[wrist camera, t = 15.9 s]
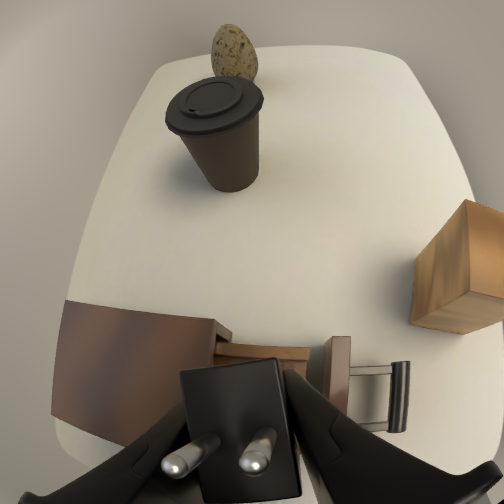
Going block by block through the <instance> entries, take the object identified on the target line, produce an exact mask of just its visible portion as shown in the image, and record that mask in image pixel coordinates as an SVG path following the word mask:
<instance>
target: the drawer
mask: <svg viewBox="0 0 504 504" xmlns="http://www.w3.org/2000/svg"><path fill="white" fill-rule="evenodd" d="M350 345H351V337H350V336H332V337H331V338H330V339H329V340H328V341H327V342H326V343H325V355H324V374H323V390H322V395H323V396H324V397H325V398H326V399H328V400H329V401H330V402H331V403H332V404H333V405H335V406H336V407H337V408H338V409H339V410H340V411H341V412H343V413H344V414H345V415H347V404H348V391H349V376H362V375H382V374H391V377H390V396H389V409H388V421H382V422H371V423H357V424H358V425H360V426H361V427H363V428H364V429H366V430H368V431H369V432H376V431H387V432H389V433H401V432H404V431H406V425H407V415H408V403H409V387H410V361H401V362H392V363H391V365H387V366H367V367H350ZM268 357H276V358H277V359H278V360H279V361H280V362H281V363H282V364H283V365H284V369H290V368H293V369H294V370H295V371H296V372H297V373H299V374H300V375H301V376H302V377H303V378H304V379H305V380H306V373H307V361H308V360H309V359H310V348H308V347H279V346H260V345H245V344H232V343H221V342H215V349H214V359H213V366H219V365H226V364H233V363H239V362H245V361H251V360H257V359H263V358H268ZM299 455H301V451H300V448H299Z"/></svg>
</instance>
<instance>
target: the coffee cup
mask: <svg viewBox="0 0 504 504" xmlns="http://www.w3.org/2000/svg"><path fill="white" fill-rule="evenodd" d="M263 100H264V97H263V95H262V92H261V90H260V89H259V88H258V87H257V86H256V85H255V84H254V83H253V82H251V81H250V80H248V79H245V78H242V77H238V76H216V77H211V78H207V79H203V80H201V81H198V82H196V83H193V84H191V85H189V86H188V87H186V88H184V89H183V90H182V91H180V92H179V93H178V94H177V95H176V96H175V97H174V98H173V99H172V100H171V102H170V103H169V105H168V107H167V111H166V117H165V122H166V124H167V127H168V129H169V130H170V131H172V132H173V133H175V134H176V135H179V136H180V138H181V139H182V141H183V142H184V144H185V145H186V147H187V149H188V150H189V152H190V153H191V155H192V156H193V158H194V160H195V161H196V163H197V164H198V166H199V167H200V169H201V171H202V172H203V174H204V175H205V177H206V178H207V180H208V182H209V183H210V185H211V186H212V187H214V188H215V189H216V190H219V191H222V192H235V191H240V190H242V189H244V188H246V187H248V186H249V185H250V184H251V183H253V182H254V180H255V179H256V177H257V176H258V171H259V111H260V109H261V108H262V104H263Z"/></svg>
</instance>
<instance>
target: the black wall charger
mask: <svg viewBox="0 0 504 504" xmlns="http://www.w3.org/2000/svg"><path fill="white" fill-rule="evenodd" d="M283 370H285V369H284V365H283V364H282V363H281V362H280V361H279V360H278V359H277V358H276V357H268V358H263V359H257V360H251V361H245V362H239V363H233V364H226V365H219V366H211V367H203V368H195V369H186V370H181V371H180V372H179V376H180V384H181V391H182V397H183V404H184V410H185V416H186V422H187V428H188V433H189V438H190V443H189V444H187V445H185V446H184V447H182V448H180V449H178V450H176V451H175V452H173V453H171V454H169V455H167V456H166V457H165V458H163V460H162V463H161V468H162V470H163V472H164V473H165V474H166V475H167V476H168V477H170V478H173V479H180V478H183V477H185V476H186V475H187V474H188V473H190V472H191V471H192V470H193V469H194V468H196V472H197V477H198V481H199V485H200V490H201V494H202V498H203V501H204V503H205V504H239V503H254V502H266V501H275V500H283V499H290V498H296V497H300V496H302V482H301V469H300V456H299V445H298V442H297V439H296V436H295V433H294V429H293V424H292V420H291V415H290V411H289V406H288V402H287V397H286V391H285V383H284V375H283Z"/></svg>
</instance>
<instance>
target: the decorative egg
mask: <svg viewBox="0 0 504 504" xmlns="http://www.w3.org/2000/svg"><path fill="white" fill-rule="evenodd" d="M211 62H212V68H213V71H214V74H215V76H238V77H242V78H245V79H248V80H250V81H251V82H252V81H253V80H254V78H255V77H256V74H257V71H258V60H257V55H256V52H255V50H254V47H253V46H252V44H251V42H250V40H249V39H248V37H247V36H246V34H245V33H244V32H243V31H242V30H241V29H240V28H239V27H237V26H235V25H232V24H225V25H223V26H221V27H220V28H219V29H218V31H217V32H216V34H215V37H214V39H213V44H212V52H211Z"/></svg>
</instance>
